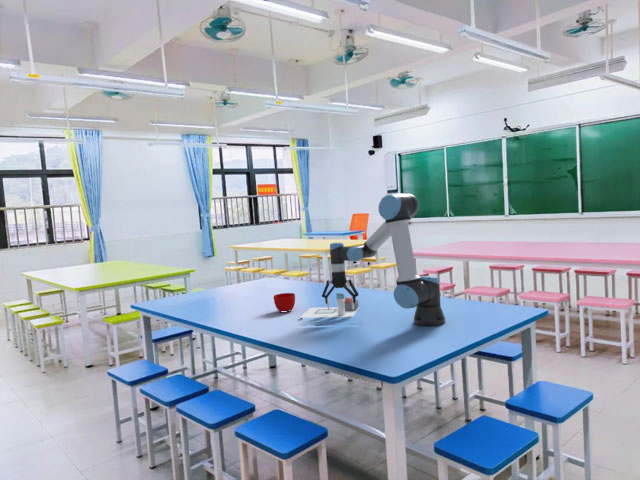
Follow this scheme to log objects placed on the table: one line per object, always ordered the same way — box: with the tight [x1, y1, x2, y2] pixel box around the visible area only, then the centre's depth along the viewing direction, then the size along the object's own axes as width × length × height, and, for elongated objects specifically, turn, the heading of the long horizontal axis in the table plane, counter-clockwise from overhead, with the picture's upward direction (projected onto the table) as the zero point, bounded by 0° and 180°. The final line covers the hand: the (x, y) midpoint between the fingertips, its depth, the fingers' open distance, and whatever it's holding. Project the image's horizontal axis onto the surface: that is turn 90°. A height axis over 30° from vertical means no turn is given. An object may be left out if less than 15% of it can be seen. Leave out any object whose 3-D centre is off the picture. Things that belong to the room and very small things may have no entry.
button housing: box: [344, 299, 360, 312], centre depth 266 cm, size 9×9×4 cm
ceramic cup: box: [273, 292, 296, 312], centre depth 279 cm, size 13×17×10 cm
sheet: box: [298, 306, 360, 319], centre depth 262 cm, size 24×30×1 cm
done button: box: [344, 296, 352, 303], centre depth 266 cm, size 5×5×4 cm
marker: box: [335, 292, 345, 316], centre depth 253 cm, size 4×4×12 cm
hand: (341, 309), depth 253 cm, fingers open, 13 cm apart
